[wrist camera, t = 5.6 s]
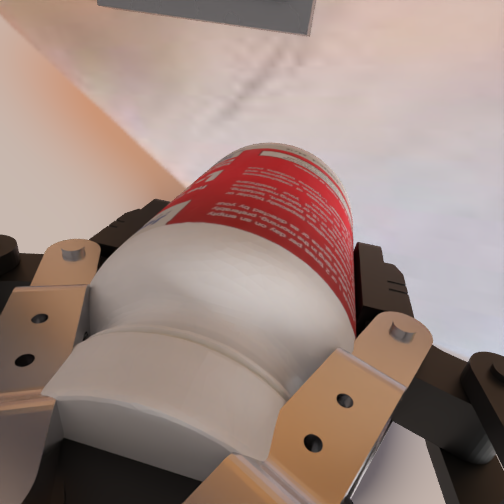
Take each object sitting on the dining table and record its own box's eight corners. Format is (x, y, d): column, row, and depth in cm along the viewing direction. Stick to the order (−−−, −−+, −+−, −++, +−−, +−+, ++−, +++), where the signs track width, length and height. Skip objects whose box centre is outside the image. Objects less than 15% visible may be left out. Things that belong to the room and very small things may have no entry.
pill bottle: (236, 108, 13) (-47, 250, 4) (385, 188, 13) (483, 523, 4) (182, 241, 16) (-44, 500, 7) (302, 304, 16) (245, 642, 7)
